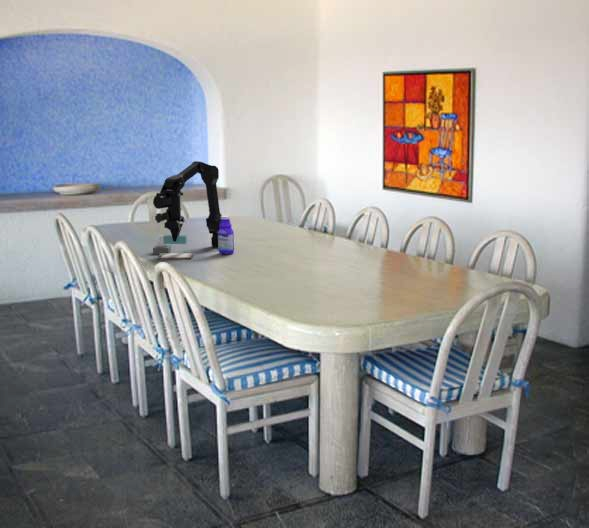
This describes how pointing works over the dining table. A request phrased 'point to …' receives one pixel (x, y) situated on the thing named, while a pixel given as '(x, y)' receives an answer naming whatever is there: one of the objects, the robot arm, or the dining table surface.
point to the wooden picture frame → (175, 255)
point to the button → (161, 245)
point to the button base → (161, 249)
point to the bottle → (225, 236)
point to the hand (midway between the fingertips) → (175, 240)
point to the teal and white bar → (169, 240)
